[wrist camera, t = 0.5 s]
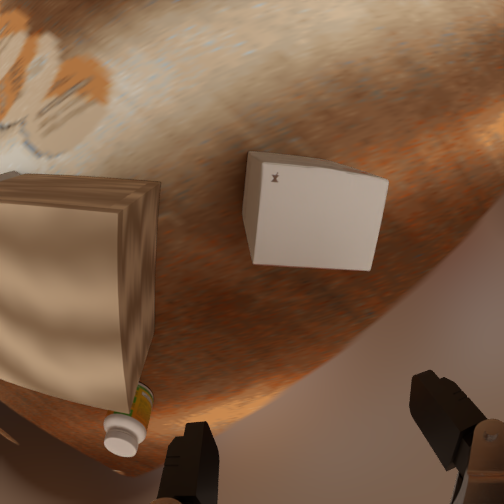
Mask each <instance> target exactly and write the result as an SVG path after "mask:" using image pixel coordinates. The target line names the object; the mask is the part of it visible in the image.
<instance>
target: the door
mask: <svg viewBox="0 0 504 504" xmlns="http://www.w3.org/2000/svg"><path fill="white" fill-rule="evenodd" d="M16 176H20V174H18V173H17V172H15V171H12V172H8V173H4V174H0V181H2V180H6V179H9V178H13V177H16Z"/></svg>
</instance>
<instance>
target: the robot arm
mask: <svg viewBox="0 0 504 504" xmlns="http://www.w3.org/2000/svg"><path fill="white" fill-rule="evenodd" d="M409 408H410V412H411V415H412V417H413V419H414V421H415V422H416V423H417V425H418V427H419V428H420V430H421V431H422V433H423V435H424V436H425V438H426V439H427V441H428V442H429V444H430V446H431V447H432V449H433V450H434V452H435V453H436V455H437V457H438V458H439V460H440V462H441V463H442V465H443V466H444V468H445V470H446V471H448V470H451V469H453V468H455V467H456V468H457V469H458V471H459V472H458V474H457V478H456V482H455V486H454V490H453V494H452V497H451V501H450V504H504V422H502V421H500V420H497V419H487V418H486V417H485V416H484V414H483V413H482V412H481V411H480V410H479V409H478V408H477V406H476V405H475V404H474V403H473V402H472V401H471V400H470V399H469V398H467V395H466V394H465V393H464V392H463V391H461V389H460V388H459V387H458V385H457V384H456V383H455V382H453V381H451V380H449V379H447V378H445V377H443V378H441V379H439V378H438V377H437V375H436V374H435V373H434V372H433V371H432V370H428V371H425V372H422V373H419V374H417V375H414V376H413V377H412V382H411V392H410V402H409ZM164 466H165V467H164V468H163V473H162V478H161V482H160V487H159V491H158V496H157V499H156V500H154V501H152V502H151V503H150V504H217V500H218V477H219V452H218V448H217V445H216V443H215V440H214V438H213V435H212V433H211V430H210V428H209V425H208V423H207V422H206V421H204V422H194V423H187V424H186V427H185V432H184V436H179V437H175V438H174V439H173V441H172V442H171V443H170V445H169V446H168V450H167V454H166V459H165V464H164Z"/></svg>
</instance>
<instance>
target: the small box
mask: <svg viewBox="0 0 504 504" xmlns="http://www.w3.org/2000/svg"><path fill="white" fill-rule="evenodd" d="M388 185H389V181H388V180H387V179H385V178H382V177H379V176H376V175H373V174H370V173H367V172H364V171H361V170H358V169H355V168H352V167H348V166H345V165H342V164H338V163H335V162H332V161H329V160H324V159H318V158H310V157H303V156H295V155H286V154H277V153H268V152H256V151H249V152H248V157H247V167H246V177H245V188H244V197H243V207H242V217H243V222H244V227H245V232H246V236H247V241H248V245H249V250H250V254H251V259H252V262H253V264H254V265H267V266H284V267H301V268H319V269H337V270H356V271H370V269H371V265H372V261H373V257H374V252H375V248H376V243H377V239H378V234H379V230H380V225H381V220H382V215H383V211H384V206H385V201H386V195H387V190H388Z"/></svg>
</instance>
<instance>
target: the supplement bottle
mask: <svg viewBox="0 0 504 504" xmlns="http://www.w3.org/2000/svg"><path fill="white" fill-rule="evenodd" d="M153 400H154V398H153V394H152V392H151V391H150V389H149V388H148V387H146V386H145V385H143V384H142V383H139V382H138V386H137V389H136V392H135V396H134V399H133V403H132V406H131V410H130V413H129V414H126V413H121V412H116V411H111V410H108V412H107V414H106V417H105V421H104V429H105V431H106V436H105V440H104V445H105V447H106V448H107V449H108V450H109V451H111V452H112V453H114V454H116V455H119V456H123V457H131V456H134V455H135V454H136V452H137V448H138V444H139V443H141V442H142V441H143V440H144V439H145V437H146V433H147V428H148V423H149V419H150V414H151V410H152V405H153Z"/></svg>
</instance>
